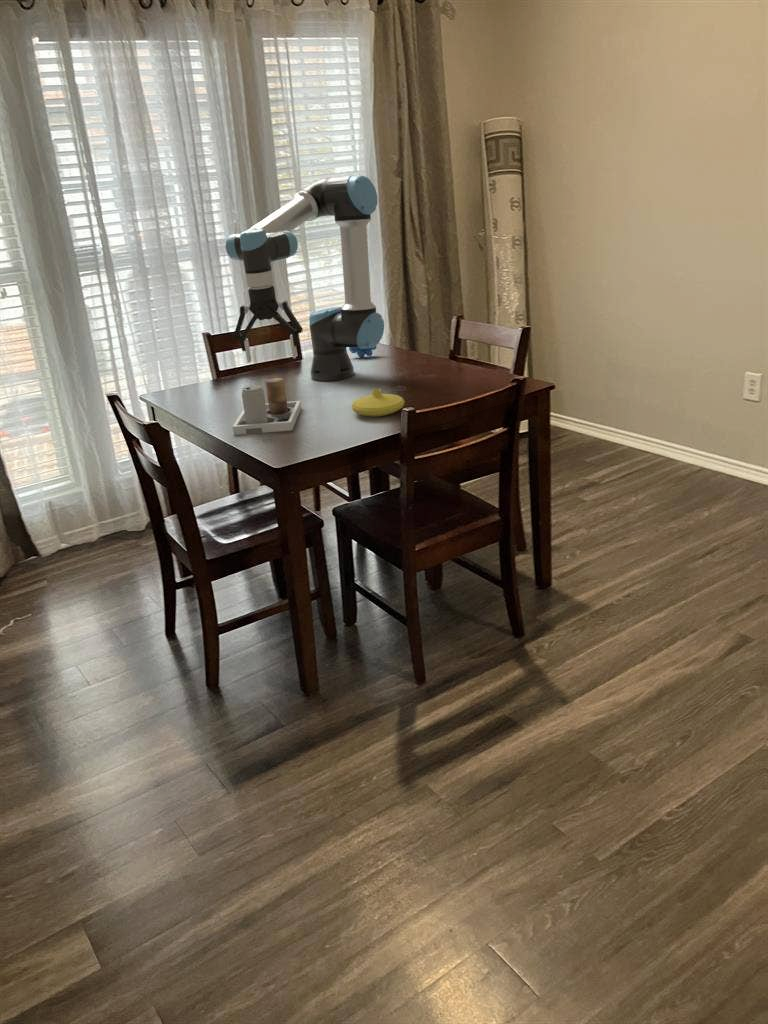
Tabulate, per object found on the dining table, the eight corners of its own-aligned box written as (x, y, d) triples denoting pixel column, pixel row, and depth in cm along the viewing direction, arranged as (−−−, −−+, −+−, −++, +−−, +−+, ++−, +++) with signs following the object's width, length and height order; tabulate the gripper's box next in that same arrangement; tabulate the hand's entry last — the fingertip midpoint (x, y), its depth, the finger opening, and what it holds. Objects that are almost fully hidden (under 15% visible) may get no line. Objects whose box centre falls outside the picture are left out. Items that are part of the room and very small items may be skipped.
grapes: (345, 361, 322) (341, 329, 317) (347, 357, 328) (344, 325, 324) (376, 359, 321) (373, 326, 316) (378, 354, 327) (375, 323, 322)
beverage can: (247, 425, 256) (241, 385, 252) (269, 422, 257) (263, 383, 252) (246, 431, 250) (239, 391, 246) (268, 429, 251) (262, 388, 246)
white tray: (301, 408, 268) (300, 400, 267) (292, 430, 247) (291, 422, 246) (247, 413, 269) (246, 405, 268) (233, 435, 248) (232, 426, 247)
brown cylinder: (289, 412, 265) (285, 377, 261) (287, 417, 260) (282, 382, 255) (271, 413, 265) (266, 379, 261) (269, 419, 260) (263, 383, 256)
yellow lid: (354, 407, 264) (351, 385, 261) (405, 403, 263) (403, 380, 260) (350, 423, 249) (348, 399, 246) (405, 418, 248) (403, 394, 245)
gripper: (305, 280, 250) (315, 352, 259) (220, 288, 252) (233, 360, 260) (302, 284, 243) (312, 358, 252) (215, 293, 245) (228, 366, 253)
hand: (272, 359), depth 256 cm, fingers open, 13 cm apart
